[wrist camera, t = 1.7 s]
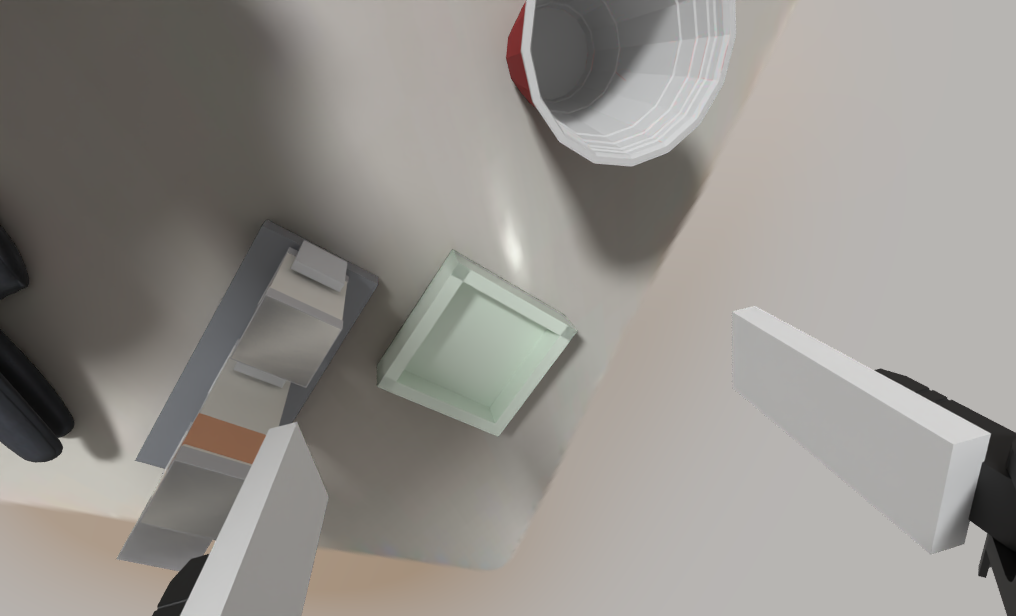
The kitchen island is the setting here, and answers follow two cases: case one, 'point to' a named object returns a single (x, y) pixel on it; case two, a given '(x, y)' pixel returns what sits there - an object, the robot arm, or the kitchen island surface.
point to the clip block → (233, 323)
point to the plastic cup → (621, 71)
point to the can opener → (26, 382)
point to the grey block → (162, 541)
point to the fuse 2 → (216, 454)
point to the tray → (473, 346)
